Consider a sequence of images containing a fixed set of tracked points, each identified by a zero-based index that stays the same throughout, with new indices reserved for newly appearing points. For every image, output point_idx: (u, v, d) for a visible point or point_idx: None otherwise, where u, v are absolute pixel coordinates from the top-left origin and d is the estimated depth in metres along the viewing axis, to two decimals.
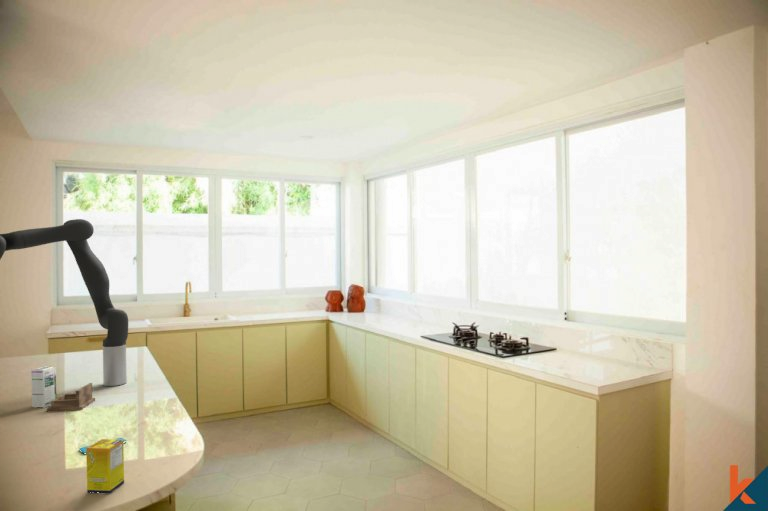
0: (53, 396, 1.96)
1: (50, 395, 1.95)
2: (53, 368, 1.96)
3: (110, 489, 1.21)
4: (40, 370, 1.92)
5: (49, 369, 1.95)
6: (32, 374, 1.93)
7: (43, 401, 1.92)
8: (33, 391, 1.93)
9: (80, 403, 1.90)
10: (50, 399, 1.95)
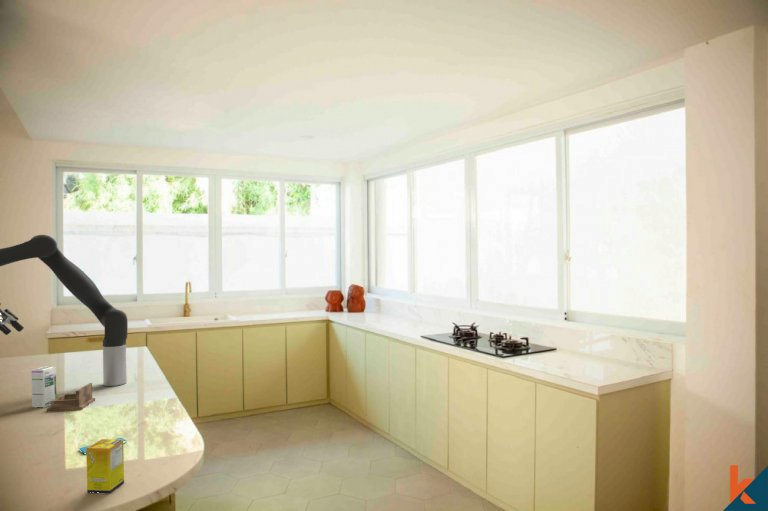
0: (53, 396, 1.96)
1: (50, 395, 1.95)
2: (53, 368, 1.96)
3: (110, 489, 1.21)
4: (40, 370, 1.92)
5: (49, 369, 1.95)
6: (32, 374, 1.93)
7: (43, 401, 1.92)
8: (33, 391, 1.93)
9: (80, 403, 1.90)
10: (50, 399, 1.95)
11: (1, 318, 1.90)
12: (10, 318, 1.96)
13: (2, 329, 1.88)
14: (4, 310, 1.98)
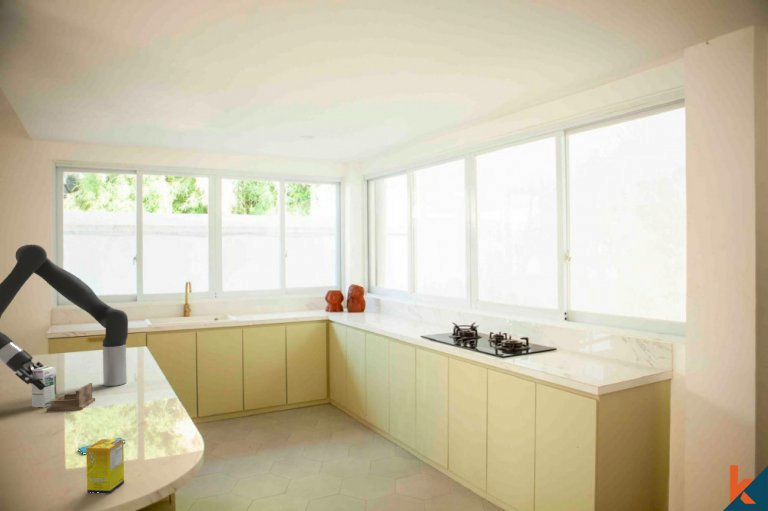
0: (53, 396, 1.96)
1: (50, 395, 1.95)
2: (53, 368, 1.96)
3: (110, 489, 1.21)
4: (40, 370, 1.92)
5: (49, 369, 1.95)
6: None
7: (43, 401, 1.92)
8: (33, 391, 1.93)
9: (80, 403, 1.90)
10: (50, 399, 1.95)
11: (35, 373, 1.92)
12: None
13: (36, 384, 1.90)
14: (36, 363, 2.00)
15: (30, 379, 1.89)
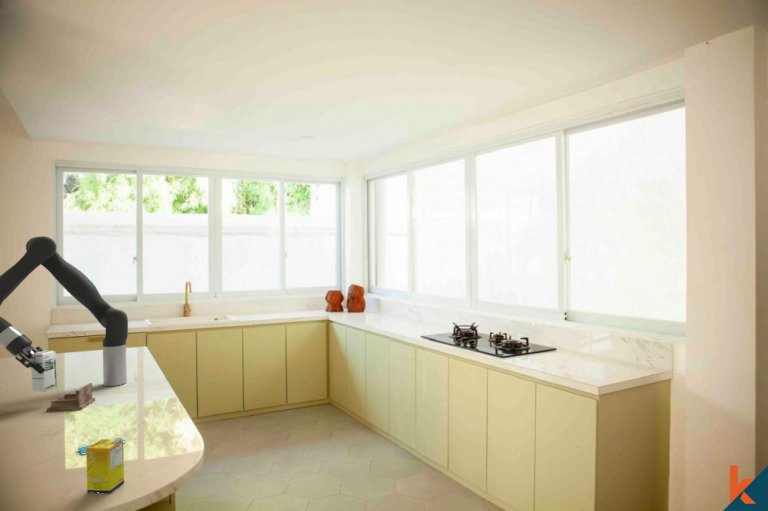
0: (53, 380, 1.96)
1: (50, 379, 1.95)
2: (52, 353, 1.96)
3: (110, 489, 1.21)
4: (40, 354, 1.92)
5: (49, 353, 1.95)
6: None
7: (43, 385, 1.92)
8: (33, 375, 1.93)
9: (80, 403, 1.90)
10: (50, 383, 1.95)
11: (34, 357, 1.92)
12: None
13: (36, 368, 1.91)
14: (36, 348, 2.00)
15: (30, 363, 1.89)
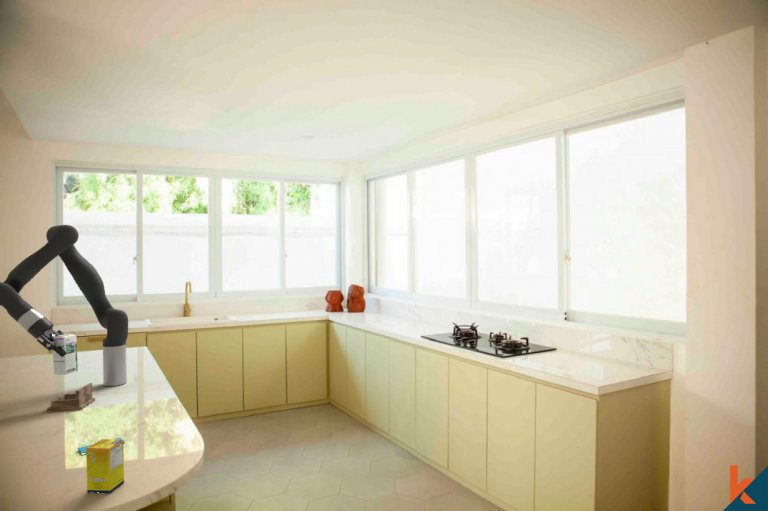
0: (74, 364, 1.95)
1: (71, 362, 1.94)
2: (73, 336, 1.95)
3: (110, 489, 1.21)
4: (61, 337, 1.91)
5: (70, 336, 1.94)
6: None
7: (64, 368, 1.91)
8: (54, 358, 1.92)
9: (80, 403, 1.90)
10: (71, 366, 1.94)
11: (56, 340, 1.91)
12: None
13: (58, 351, 1.89)
14: (57, 331, 1.99)
15: (51, 345, 1.88)
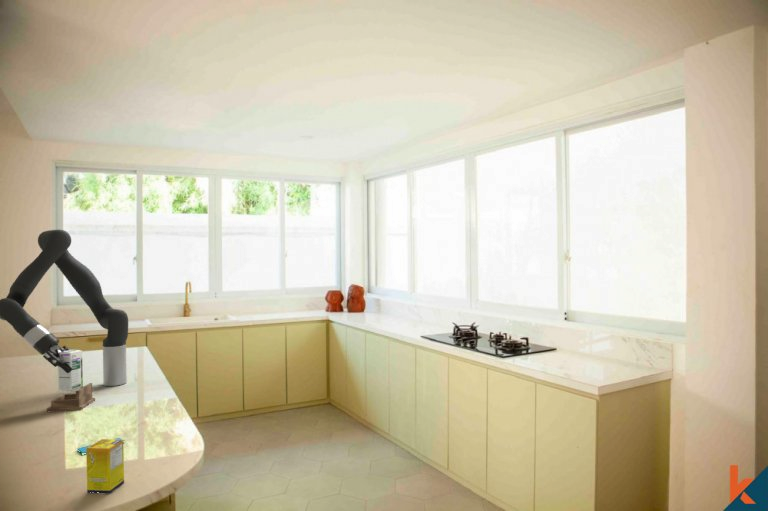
0: (79, 380, 1.94)
1: (77, 378, 1.93)
2: (79, 352, 1.95)
3: (110, 489, 1.21)
4: (67, 353, 1.91)
5: (76, 352, 1.93)
6: None
7: (69, 384, 1.91)
8: (60, 374, 1.91)
9: (80, 403, 1.90)
10: (77, 382, 1.93)
11: (62, 356, 1.91)
12: None
13: (64, 367, 1.89)
14: (62, 347, 1.99)
15: (58, 362, 1.87)
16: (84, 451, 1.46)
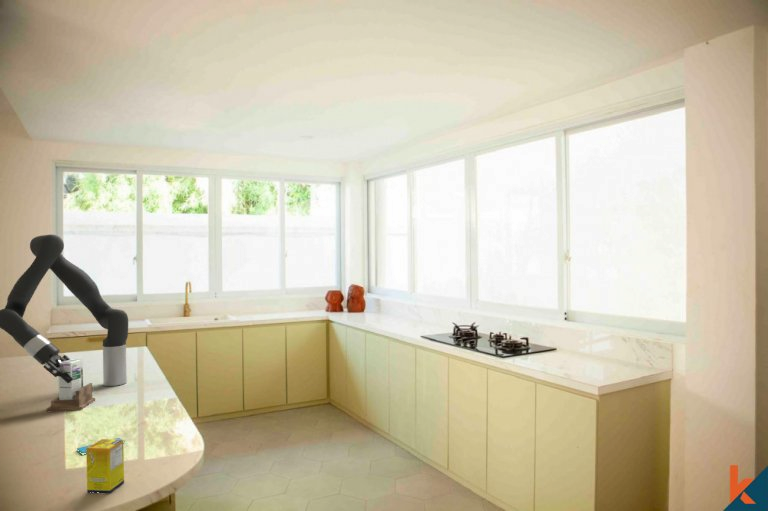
0: None
1: (77, 388, 1.93)
2: (80, 361, 1.95)
3: (110, 489, 1.21)
4: (68, 363, 1.91)
5: (76, 362, 1.93)
6: None
7: (70, 394, 1.91)
8: (60, 384, 1.92)
9: (80, 403, 1.90)
10: None
11: (62, 366, 1.91)
12: None
13: (64, 377, 1.89)
14: (63, 356, 1.99)
15: (58, 372, 1.87)
16: (84, 451, 1.46)
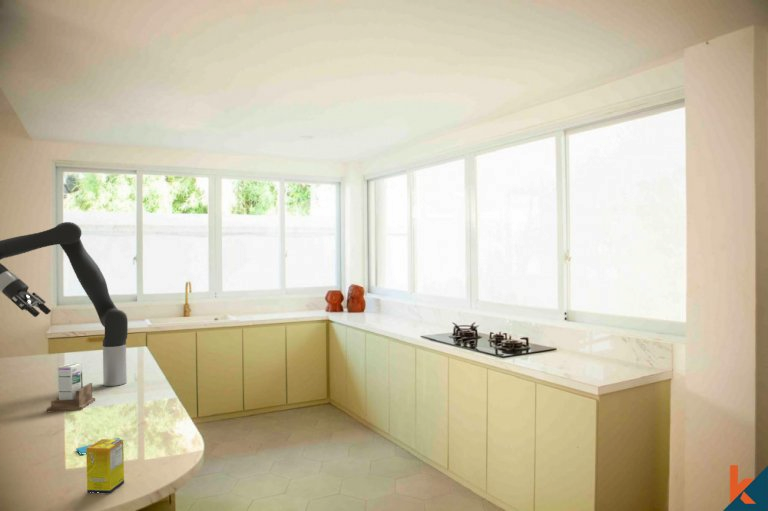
0: None
1: None
2: (79, 365, 1.95)
3: (110, 489, 1.21)
4: (68, 367, 1.91)
5: (76, 366, 1.93)
6: (59, 371, 1.91)
7: (70, 398, 1.91)
8: (60, 388, 1.91)
9: (80, 403, 1.90)
10: None
11: (30, 301, 1.95)
12: (38, 301, 2.01)
13: (31, 311, 1.93)
14: None
15: (24, 305, 1.91)
16: (83, 451, 1.46)
